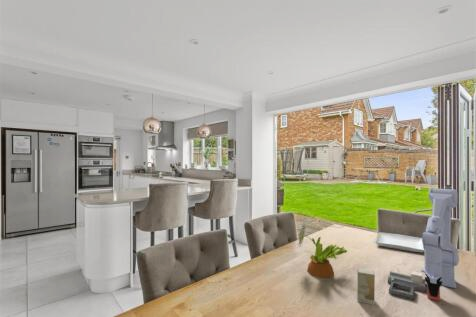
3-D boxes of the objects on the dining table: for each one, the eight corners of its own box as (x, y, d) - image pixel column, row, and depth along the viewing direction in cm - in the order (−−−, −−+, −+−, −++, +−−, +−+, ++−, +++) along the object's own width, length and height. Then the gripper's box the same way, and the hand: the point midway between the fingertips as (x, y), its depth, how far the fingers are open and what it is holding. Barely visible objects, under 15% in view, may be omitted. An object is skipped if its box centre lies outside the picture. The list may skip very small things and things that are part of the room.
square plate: (374, 247, 165) (374, 241, 165) (379, 236, 188) (379, 231, 188) (425, 255, 150) (425, 249, 150) (423, 243, 172) (423, 237, 172)
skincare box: (357, 301, 102) (357, 271, 102) (356, 296, 106) (356, 267, 106) (375, 305, 100) (375, 274, 100) (373, 299, 104) (373, 269, 104)
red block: (427, 293, 107) (427, 282, 107) (439, 296, 104) (439, 284, 104) (427, 297, 104) (427, 285, 104) (439, 301, 101) (439, 288, 101)
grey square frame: (391, 285, 114) (391, 281, 115) (414, 291, 109) (414, 286, 109) (388, 293, 108) (388, 289, 108) (412, 300, 103) (412, 295, 103)
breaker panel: (390, 275, 125) (390, 270, 125) (425, 283, 116) (425, 278, 116) (387, 283, 117) (387, 277, 117) (424, 292, 108) (424, 286, 108)
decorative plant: (303, 259, 145) (303, 216, 145) (349, 267, 135) (348, 220, 135) (292, 279, 121) (291, 228, 121) (346, 290, 111) (345, 234, 111)
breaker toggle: (411, 279, 117) (411, 270, 117) (422, 281, 114) (422, 273, 114) (411, 282, 114) (411, 273, 114) (422, 285, 111) (421, 276, 111)
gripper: (421, 253, 112) (422, 284, 112) (420, 264, 101) (421, 298, 101) (442, 257, 108) (442, 288, 108) (443, 269, 97) (443, 304, 97)
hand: (433, 293), depth 104 cm, fingers closed on red block, 4 cm apart
